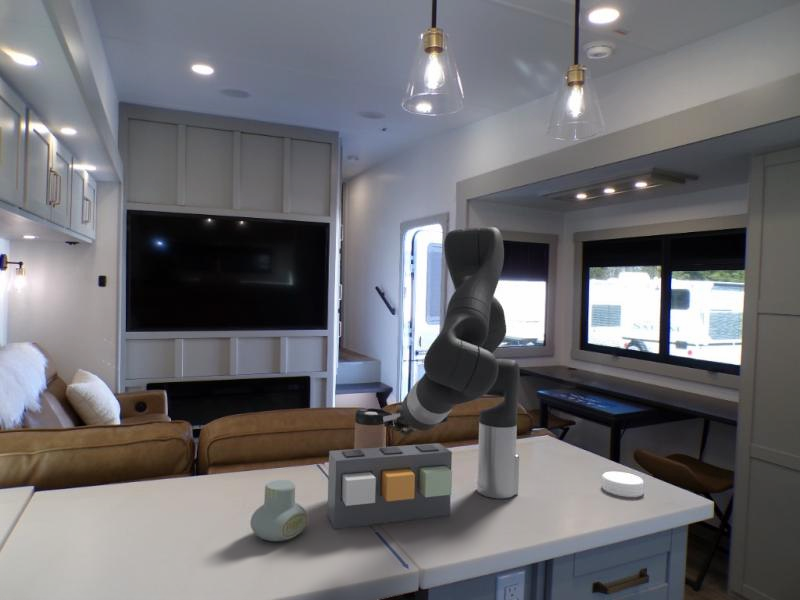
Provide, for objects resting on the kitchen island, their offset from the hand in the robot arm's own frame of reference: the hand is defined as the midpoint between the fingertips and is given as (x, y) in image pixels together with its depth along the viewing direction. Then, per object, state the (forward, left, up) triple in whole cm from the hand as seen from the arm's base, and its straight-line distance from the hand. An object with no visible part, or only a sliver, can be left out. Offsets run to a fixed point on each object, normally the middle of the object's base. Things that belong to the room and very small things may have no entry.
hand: (404, 430), depth 103 cm
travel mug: (0, -23, -21) cm, 31 cm away
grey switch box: (-1, -10, -21) cm, 23 cm away
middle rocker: (-1, -7, -15) cm, 17 cm away
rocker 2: (-9, -7, -15) cm, 19 cm away
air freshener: (+23, -7, -22) cm, 32 cm away
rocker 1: (+8, -7, -15) cm, 18 cm away
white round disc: (-64, -9, -22) cm, 68 cm away
